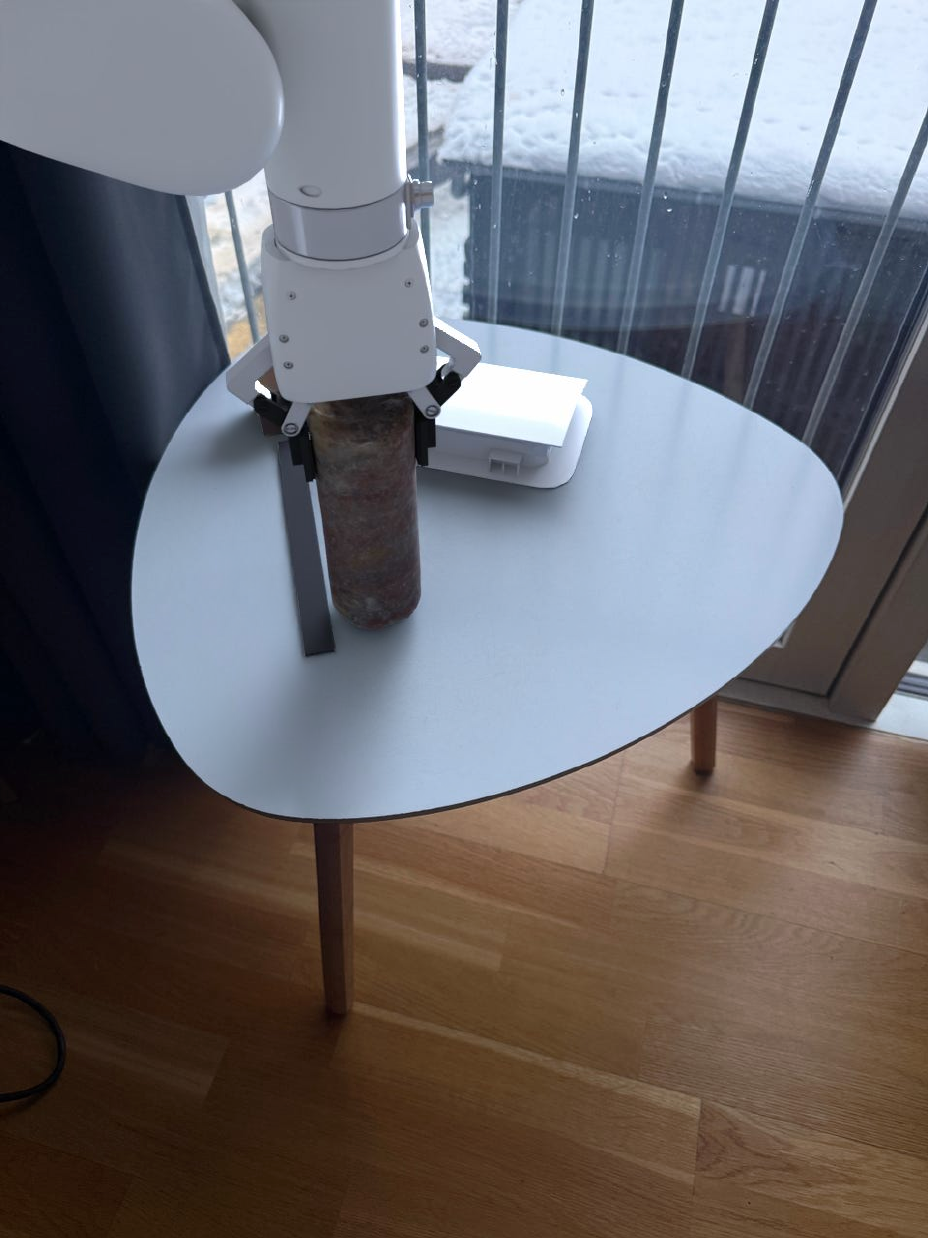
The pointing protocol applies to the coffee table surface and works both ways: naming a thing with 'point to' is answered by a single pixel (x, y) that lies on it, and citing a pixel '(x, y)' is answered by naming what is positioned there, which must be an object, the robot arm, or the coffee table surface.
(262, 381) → the walnut block
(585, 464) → the coffee table surface
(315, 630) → the strip
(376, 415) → the brown weathered cylinder
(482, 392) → the white flat lidded device
